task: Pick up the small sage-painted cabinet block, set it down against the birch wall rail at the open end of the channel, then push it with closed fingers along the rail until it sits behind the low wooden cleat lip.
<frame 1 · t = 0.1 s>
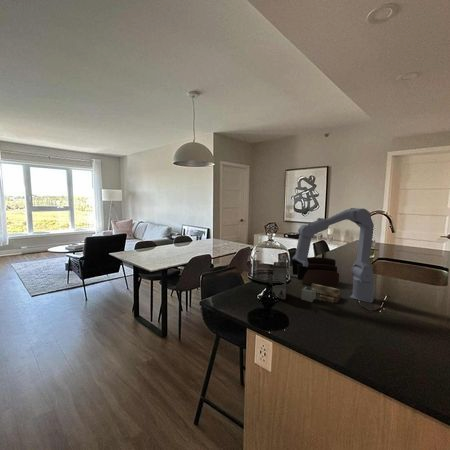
hand: (297, 277, 122), 10 cm above the worktop, tool pointing down, fingers open, 7 cm apart
letter holder: (318, 283, 147), on the worktop
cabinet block: (308, 299, 122), on the worktop
coffee box: (279, 295, 126), on the worktop
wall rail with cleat: (324, 294, 128), on the worktop
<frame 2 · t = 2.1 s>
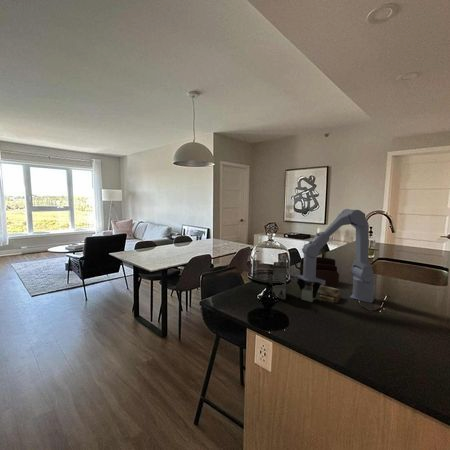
hand: (308, 296, 122), 1 cm above the worktop, tool pointing down, fingers closed on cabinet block, 5 cm apart
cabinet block: (308, 299, 122), on the worktop, touching gripper
when the fingers open (2 cm above the worktop, at t = 5.2 s): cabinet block stays where it is, on the worktop.
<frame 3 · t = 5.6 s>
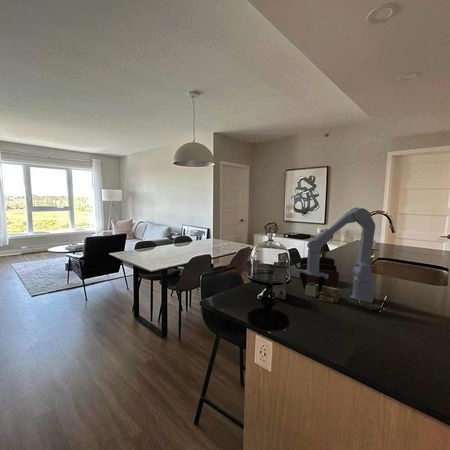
hand: (312, 289, 128), 2 cm above the worktop, tool pointing down, fingers open, 7 cm apart
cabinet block: (311, 294, 128), on the worktop
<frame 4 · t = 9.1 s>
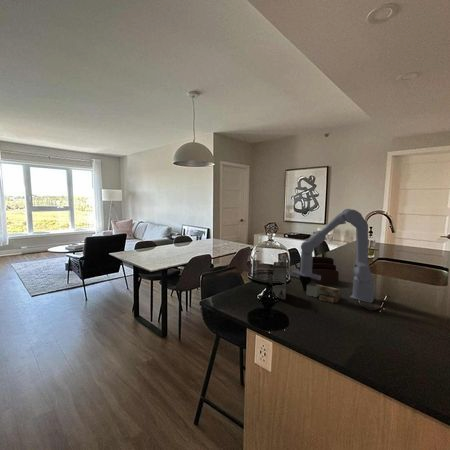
hand: (305, 290, 130), 1 cm above the worktop, tool pointing down, fingers closed
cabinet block: (313, 294, 128), on the worktop, touching gripper
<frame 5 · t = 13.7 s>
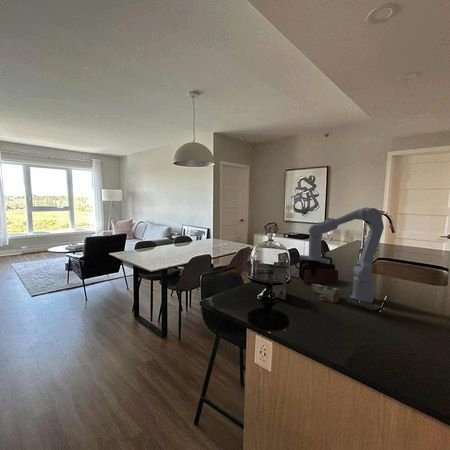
hand: (313, 275, 127), 10 cm above the worktop, tool pointing down, fingers closed
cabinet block: (329, 298, 123), resting in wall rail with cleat
at the end: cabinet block 0.8 cm from the target spot, resting in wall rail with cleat; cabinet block tilted 0°; the gripper is holding nothing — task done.
